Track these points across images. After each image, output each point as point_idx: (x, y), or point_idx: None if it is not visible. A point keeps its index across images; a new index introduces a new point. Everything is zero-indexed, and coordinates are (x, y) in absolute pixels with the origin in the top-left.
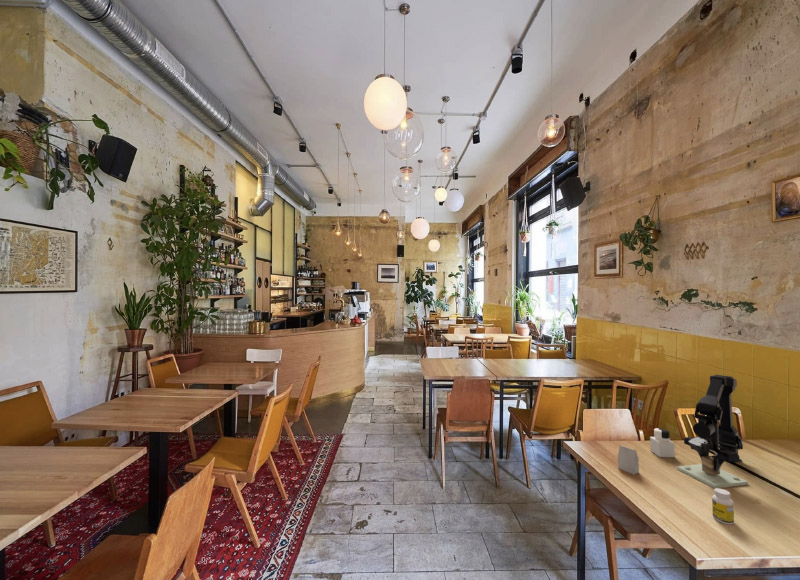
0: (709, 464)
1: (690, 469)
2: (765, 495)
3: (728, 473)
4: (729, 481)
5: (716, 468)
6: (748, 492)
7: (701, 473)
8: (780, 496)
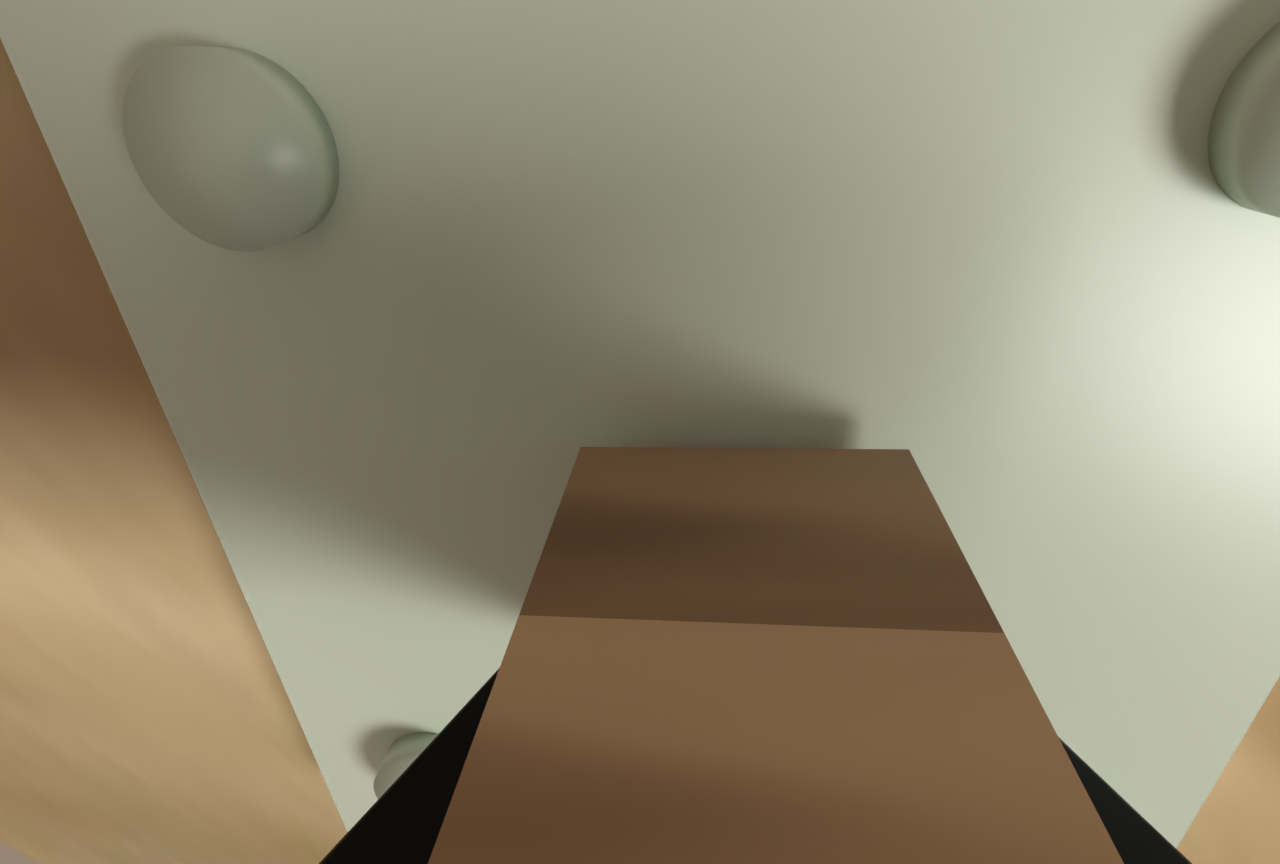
0: (595, 728)
1: (1207, 171)
2: (30, 691)
3: None
4: (314, 574)
5: (460, 724)
6: (63, 556)
7: (818, 292)
8: (65, 813)
